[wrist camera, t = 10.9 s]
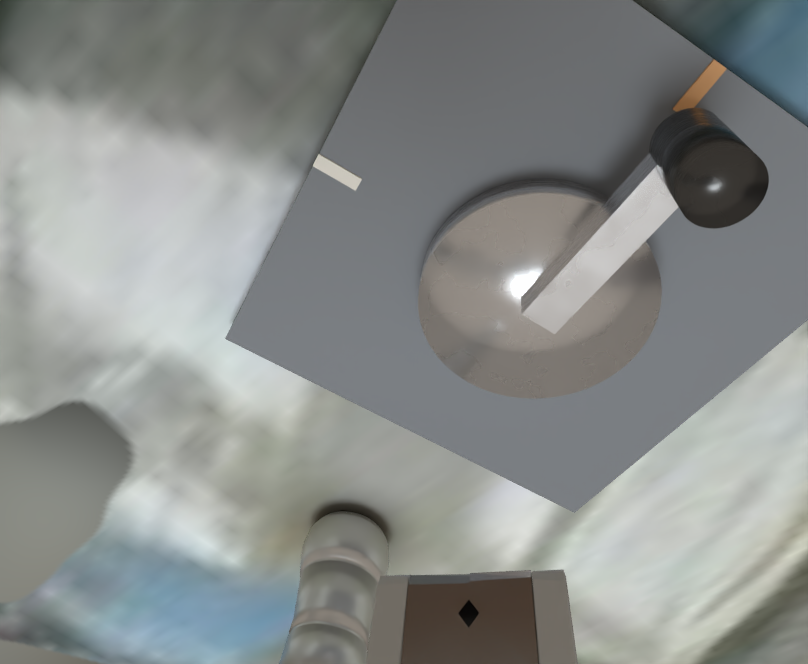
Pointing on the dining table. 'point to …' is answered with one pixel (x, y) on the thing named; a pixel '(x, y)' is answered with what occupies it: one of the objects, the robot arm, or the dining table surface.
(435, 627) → the robot arm
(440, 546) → the dining table surface
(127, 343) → the dining table surface
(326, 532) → the plastic bottle
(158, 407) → the dining table surface
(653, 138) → the dial
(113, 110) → the dining table surface
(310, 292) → the dial plate
